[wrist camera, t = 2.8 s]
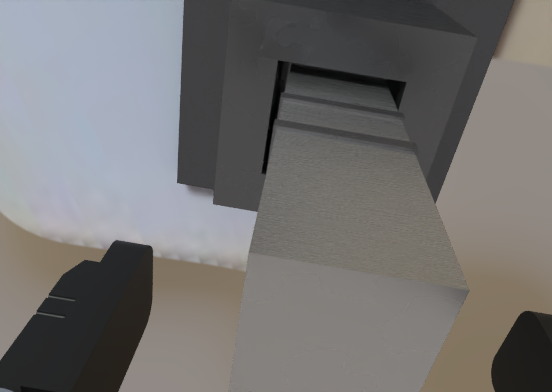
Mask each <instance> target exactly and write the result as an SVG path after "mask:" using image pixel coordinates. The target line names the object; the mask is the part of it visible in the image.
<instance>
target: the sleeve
mask: <svg viewBox="0 0 552 392" xmlns="http://www.w3.org/2000/svg"><path fill="white" fill-rule="evenodd" d="M513 2H514V0H184V16H183V42H182V69H181V95H180V121H179V148H178V174H177V183H180V184H186V185H192V186H198V187H204V188H210V189H214V199H213V204H215V205H221V206H227V207H233V208H239V209H245V210H250V211H256V212H258V209H259V205H260V200H261V196H262V191H263V187H264V182H265V178H266V172H267V165H268V159H269V152H270V146H271V139H272V133H273V126H274V122H275V119H277V116H278V110H279V104H280V97H281V93H282V92H285V86H286V80H287V74H288V67H289V62H292V63H298V64H304V65H310V66H316V67H321V68H327V69H333V70H339V71H345V72H351V73H356V74H362V75H368V76H374V77H380V78H386V83H387V85H388V88H389V90H390V93H391V95H392V98H393V100H394V103H395V105H396V108H397V110H398V112H401V113H403V114H404V116H405V121H404V124H403V125H404V128H405V130H406V133H407V135H408V138H409V140H410V142H414V143H416V144H417V147H418V149H419V151H418V154H417V157H416V158H417V160H418V163H419V165H420V168H421V170H422V173H423V175H424V178H425V180H426V183H427V185H428V188H429V190H430V193H431V195H432V198H433V200H434V203H436V201H437V198H438V195H439V193H440V190H441V188H442V185H443V182H444V180H445V177H446V175H447V172H448V170H449V167H450V164H451V162H452V159H453V157H454V154H455V152H456V149H457V146H458V144H459V141H460V138H461V136H462V133H463V131H464V128H465V126H466V123H467V120H468V118H469V115H470V113H471V110H472V108H473V105H474V102H475V100H476V97H477V95H478V92H479V89H480V87H481V85H482V82H483V79H484V77H485V74H486V71H487V69H488V66H489V64H490V61H491V59H492V56H493V54H494V51H495V48H496V46H497V43H498V41H499V38H500V35H501V33H502V30H503V28H504V25H505V23H506V20H507V17H508V15H509V12H510V10H511V7H512V5H513Z"/></svg>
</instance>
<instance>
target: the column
mask: <svg viewBox="0 0 552 392" xmlns="http://www.w3.org/2000/svg"><path fill="white" fill-rule="evenodd" d="M404 121H405V116H404V114H403V113H401V112H398V110H397V108H396V105H395V103H394V100H393V98H392V95H391V93H390V90H389V88H388V85H387V83H386V78H380V77H374V76H368V75H362V74H356V73H351V72H345V71H339V70H333V69H327V68H321V67H316V66H310V65H304V64H298V63H292V62H289V67H288V74H287V80H286V86H285V92H282V93H281V97H280V104H279V110H278V116H277V119H275V122H274V126H273V133H272V139H271V146H270V152H269V159H268V165H267V172H266V178H265V182H264V187H263V191H262V196H261V200H260V205H259V209H258V213H257V218H256V222H255V227H254V231H253V236H252V240H251V244H250V249H249V254H248V261H247V267H246V274H245V282H244V288H243V295H242V302H241V309H240V316H239V323H238V330H237V337H236V343H235V350H234V357H233V365H232V371H231V378H230V385H229V392H420V390H421V388H422V386H423V384H424V382H425V380H426V378H427V376H428V374H429V372H430V370H431V368H432V366H433V364H434V362H435V360H436V358H437V356H438V354H439V352H440V350H441V348H442V346H443V344H444V342H445V340H446V337H447V336H448V333H449V331H450V329H451V327H452V325H453V323H454V321H455V319H456V317H457V315H458V313H459V311H460V309H461V307H462V305H463V303H464V301H465V299H466V297H467V294H468V293H469V287H468V285H467V282H466V280H465V277H464V275H463V272H462V270H461V267H460V265H459V263H458V260H457V257H456V255H455V253H454V250H453V247H452V245H451V242H450V240H449V237H448V235H447V232H446V230H445V228H444V225H443V222H442V220H441V218H440V215H439V213H438V210H437V208H436V205H435V203H434V200H433V198H432V195H431V193H430V190H429V188H428V185H427V183H426V180H425V178H424V175H423V173H422V170H421V168H420V165H419V163H418V160H417V158H416V157H417V154H418V151H419V149H418V147H417V144H416V143H414V142H410V140H409V138H408V135H407V133H406V130H405V128H404V125H403V124H404Z"/></svg>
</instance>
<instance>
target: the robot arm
mask: <svg viewBox="0 0 552 392" xmlns="http://www.w3.org/2000/svg"><path fill="white" fill-rule="evenodd" d="M152 285H153V249H152V247H151V246H149V245H143V244H137V243H131V242H125V241H119V240H116V241H114V242H113V243H112V245H111V246H110V248H109V249H108V251H107V252H106V254H105V255H104V257H103V258H102V260H101V262H95V261H88V260H84V261H83V262H81V263H80V264H78V265H77V266H75V267H74V268H72V269H71V270H69V271H68V272H66V273H65V274H63V276H62V277H61V278H60V280H59V281H58V282H57V284H56V285H55V286H54V288H53V289H52V290H51V292H50V293H49V297H48V298H46V299H45V300H44V302H43V303H42V304H41V306H40V307H39V308H38V310H37V313H36V315H33V317H32V318H31V319H30V321H29V322H28V323H27V325H26V326H25V327H24V329H23V330H22V332H21V333H20V334H19V336H18V337H17V339H16V340H15V341H14V342H13V344H12V345H11V347H10V348H9V349H8V351H7V352H6V354H5V355H4V356H3V358H2V359H1V360H0V392H118V391H119V388H120V386H121V384H122V382H123V379H124V377H125V375H126V372H127V370H128V368H129V365H130V363H131V361H132V358H133V356H134V354H135V351H136V349H137V347H138V344H139V342H140V340H141V337H142V335H143V333H144V330H145V328H146V325H147V322H148V319H149V315H150V311H151V305H152ZM491 376H492V384H493V387H494V390H495V392H552V315H550V314H544V313H538V312H532V311H525V312H523V313H521V314H520V316H519V317H518V318H517V320H516V322H515V323H514V325H513V327H512V328H511V330H510V332H509V333H508V335H507V337H506V338H505V340H504V342H503V343H502V345H501V347H500V349H499V350H498V352H497V354H496V355H495V357H494V360H493V363H492V369H491Z"/></svg>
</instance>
